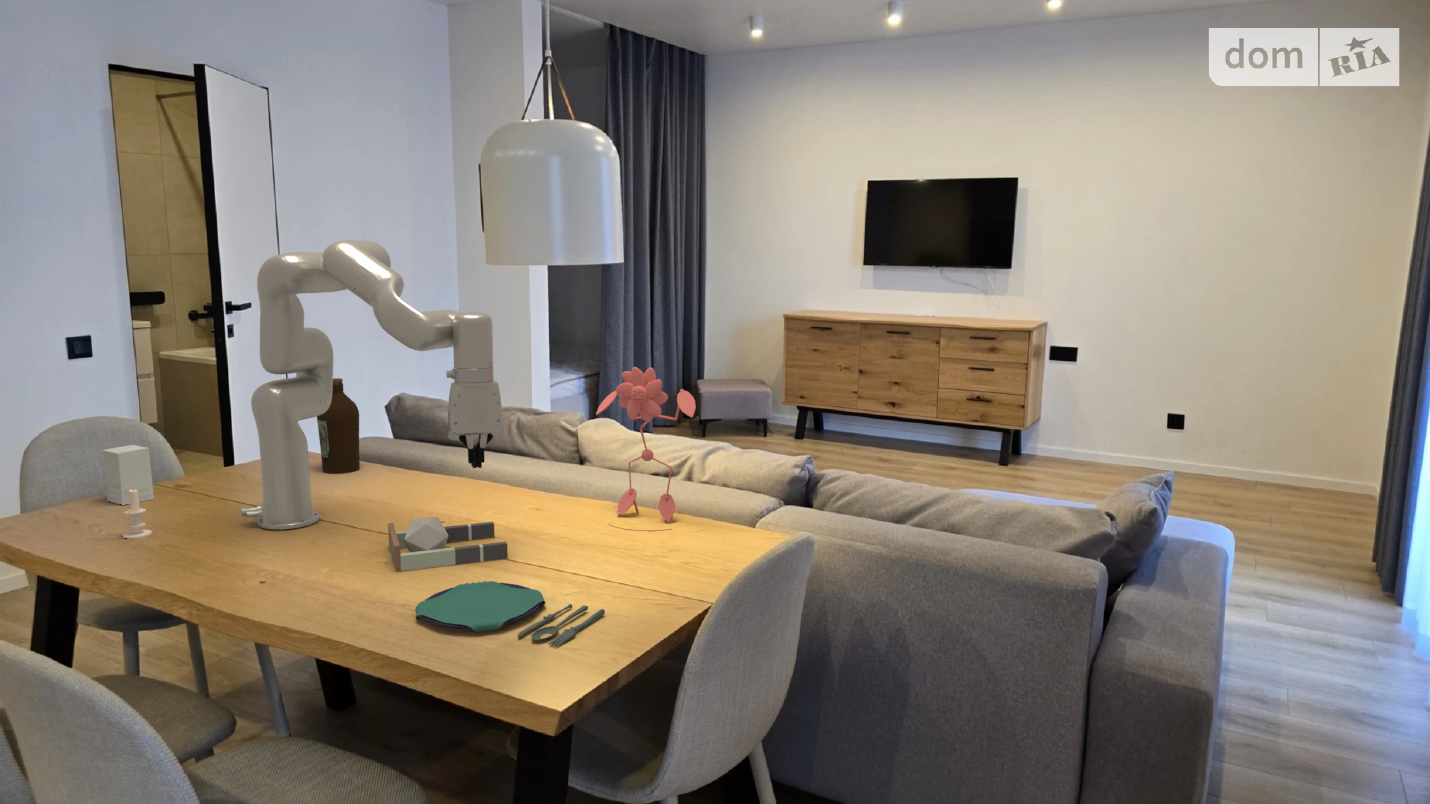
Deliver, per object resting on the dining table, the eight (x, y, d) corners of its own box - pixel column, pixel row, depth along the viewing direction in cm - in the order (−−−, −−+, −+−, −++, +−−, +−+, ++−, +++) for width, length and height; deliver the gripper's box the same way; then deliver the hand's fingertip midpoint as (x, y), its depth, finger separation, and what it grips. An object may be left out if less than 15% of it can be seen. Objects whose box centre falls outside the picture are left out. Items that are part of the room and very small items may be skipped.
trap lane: (395, 571, 175) (394, 546, 174) (388, 546, 189) (387, 523, 188) (507, 558, 183) (507, 533, 182) (493, 535, 197) (492, 512, 197)
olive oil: (356, 463, 261) (351, 375, 257) (366, 471, 252) (361, 379, 248) (316, 468, 255) (310, 378, 251) (325, 476, 246) (319, 382, 242)
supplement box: (155, 499, 223) (150, 447, 221) (122, 506, 216) (116, 453, 214) (139, 494, 226) (134, 443, 224) (106, 501, 220) (101, 449, 218)
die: (434, 569, 178) (459, 524, 181) (393, 549, 176) (418, 504, 179) (433, 571, 186) (456, 527, 189) (393, 552, 184) (417, 508, 187)
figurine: (608, 506, 220) (607, 360, 215) (705, 520, 209) (707, 367, 204) (571, 523, 207) (569, 367, 201) (674, 539, 196) (674, 375, 190)
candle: (155, 535, 195) (150, 487, 193) (127, 541, 191) (122, 492, 189) (147, 530, 198) (142, 483, 197) (119, 535, 195) (114, 487, 193)
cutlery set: (474, 585, 169) (473, 573, 169) (614, 615, 157) (614, 602, 156) (393, 624, 152) (392, 610, 151) (543, 660, 139) (543, 646, 139)
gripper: (436, 380, 177) (440, 474, 180) (515, 376, 182) (517, 467, 185) (432, 374, 183) (435, 465, 186) (508, 372, 189) (510, 459, 192)
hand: (476, 466), depth 186 cm, fingers closed
